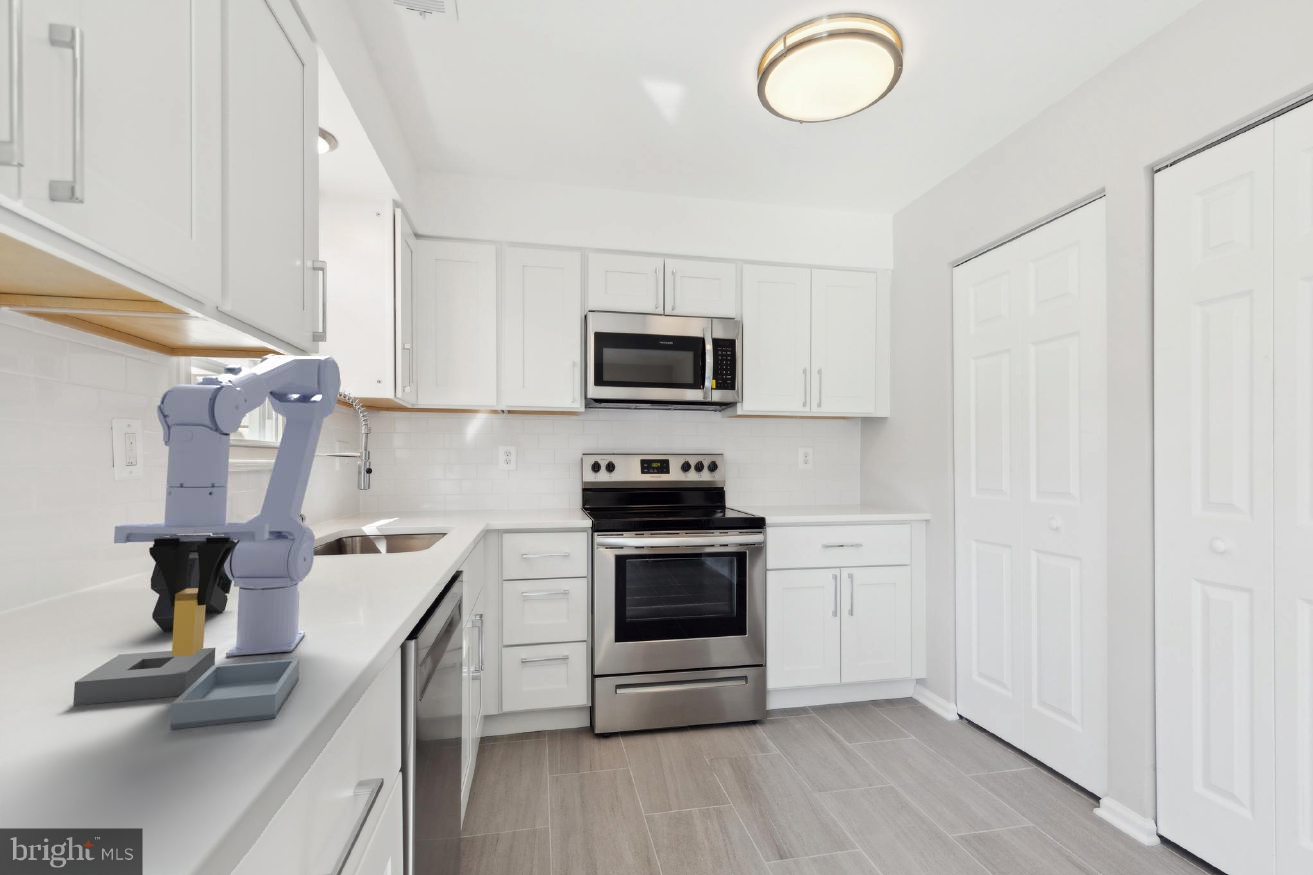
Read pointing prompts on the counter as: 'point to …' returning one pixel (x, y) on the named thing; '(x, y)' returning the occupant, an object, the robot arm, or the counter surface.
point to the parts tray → (236, 694)
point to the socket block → (142, 676)
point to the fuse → (188, 623)
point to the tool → (163, 608)
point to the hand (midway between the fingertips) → (191, 604)
